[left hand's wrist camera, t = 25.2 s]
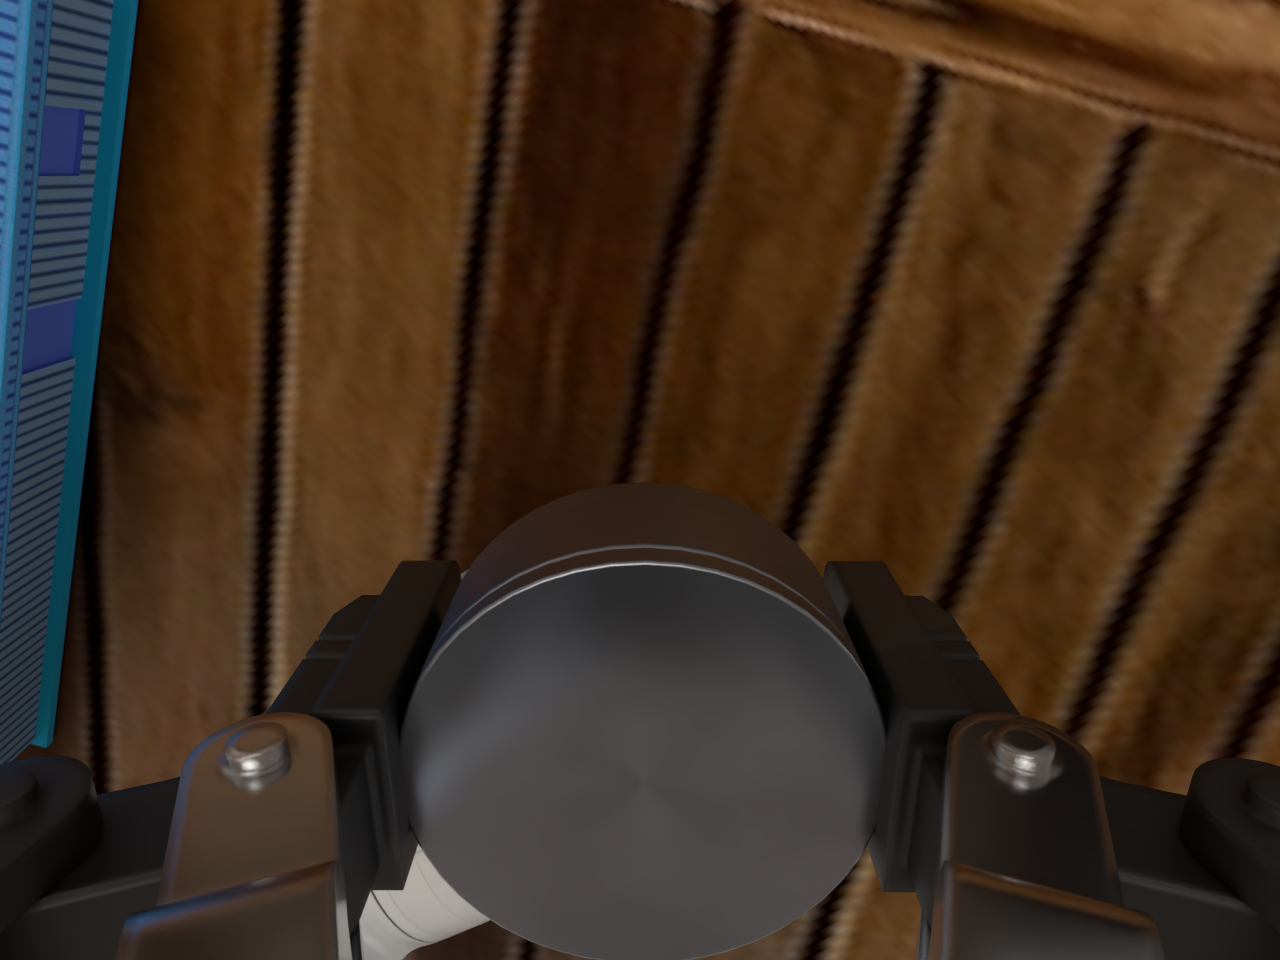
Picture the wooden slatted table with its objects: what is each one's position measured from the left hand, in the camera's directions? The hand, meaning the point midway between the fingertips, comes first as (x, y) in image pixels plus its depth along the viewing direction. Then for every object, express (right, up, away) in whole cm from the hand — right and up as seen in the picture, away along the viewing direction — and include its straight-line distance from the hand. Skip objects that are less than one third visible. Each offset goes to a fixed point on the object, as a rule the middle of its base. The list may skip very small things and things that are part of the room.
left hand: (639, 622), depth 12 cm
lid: (0, -1, -3) cm, 3 cm away
